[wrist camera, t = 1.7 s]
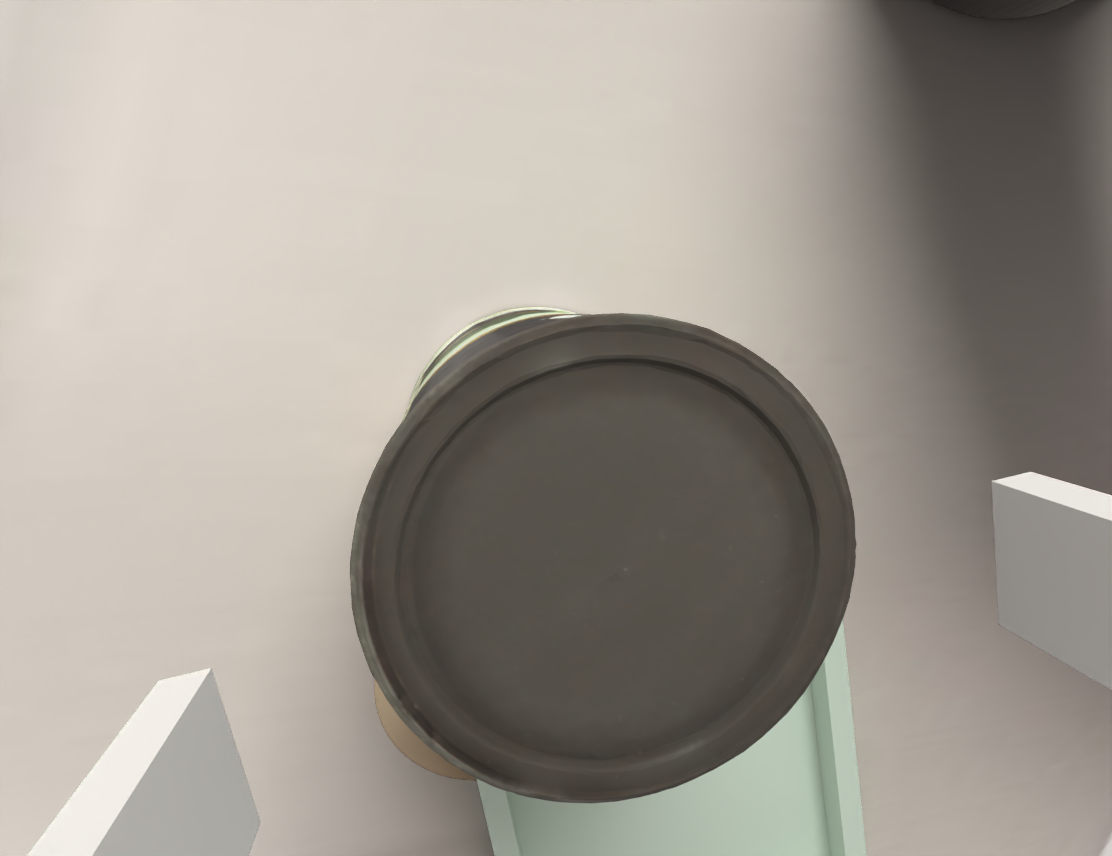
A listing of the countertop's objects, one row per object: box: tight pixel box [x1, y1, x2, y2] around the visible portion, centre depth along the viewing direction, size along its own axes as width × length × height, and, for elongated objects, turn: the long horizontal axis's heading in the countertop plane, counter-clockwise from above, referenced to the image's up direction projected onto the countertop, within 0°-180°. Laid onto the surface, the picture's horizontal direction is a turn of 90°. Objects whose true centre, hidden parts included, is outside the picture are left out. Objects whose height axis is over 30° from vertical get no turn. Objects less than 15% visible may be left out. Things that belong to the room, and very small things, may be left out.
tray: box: [476, 620, 867, 856], centre depth 30 cm, size 16×16×2 cm
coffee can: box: [350, 307, 856, 803], centre depth 20 cm, size 10×10×14 cm
